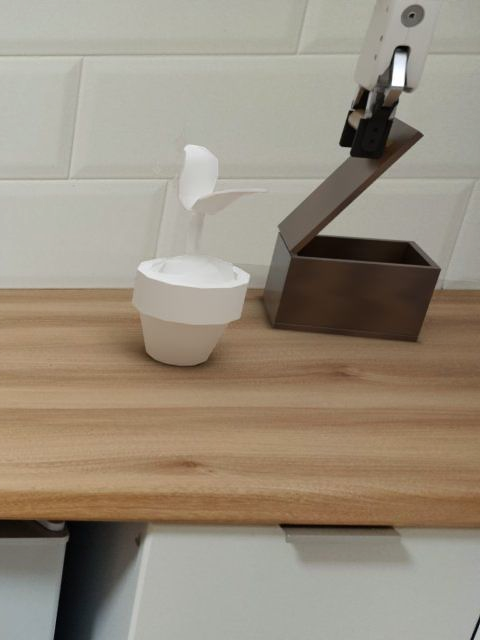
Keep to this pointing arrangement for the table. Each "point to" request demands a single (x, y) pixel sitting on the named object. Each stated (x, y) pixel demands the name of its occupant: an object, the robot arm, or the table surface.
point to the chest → (351, 287)
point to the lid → (344, 185)
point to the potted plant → (191, 273)
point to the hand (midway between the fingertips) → (359, 150)
